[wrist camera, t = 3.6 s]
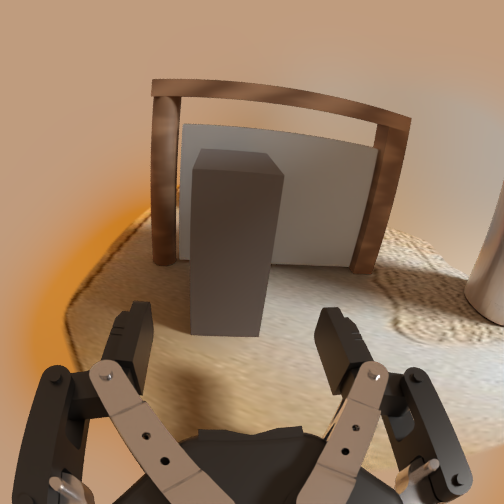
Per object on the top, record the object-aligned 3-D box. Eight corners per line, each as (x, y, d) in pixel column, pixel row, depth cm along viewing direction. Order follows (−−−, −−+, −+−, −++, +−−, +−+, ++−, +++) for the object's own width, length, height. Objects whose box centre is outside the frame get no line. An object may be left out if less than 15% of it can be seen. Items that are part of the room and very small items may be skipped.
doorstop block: (250, 283, 28) (266, 153, 22) (258, 336, 22) (284, 175, 16) (196, 281, 27) (201, 148, 21) (190, 334, 21) (192, 168, 15)
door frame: (151, 265, 28) (152, 79, 20) (155, 253, 30) (158, 80, 22) (371, 274, 32) (411, 118, 23) (363, 263, 34) (398, 115, 25)
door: (179, 259, 29) (182, 124, 23) (181, 247, 31) (186, 122, 25) (349, 266, 31) (378, 149, 25) (341, 255, 33) (367, 145, 27)
